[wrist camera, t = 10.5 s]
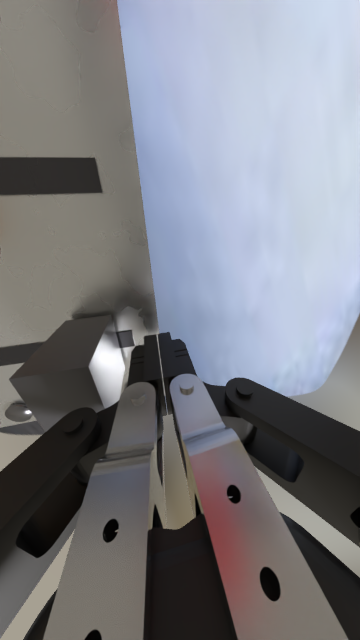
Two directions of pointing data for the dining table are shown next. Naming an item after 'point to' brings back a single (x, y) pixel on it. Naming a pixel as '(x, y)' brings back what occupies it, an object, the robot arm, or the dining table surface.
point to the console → (67, 185)
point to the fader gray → (72, 371)
